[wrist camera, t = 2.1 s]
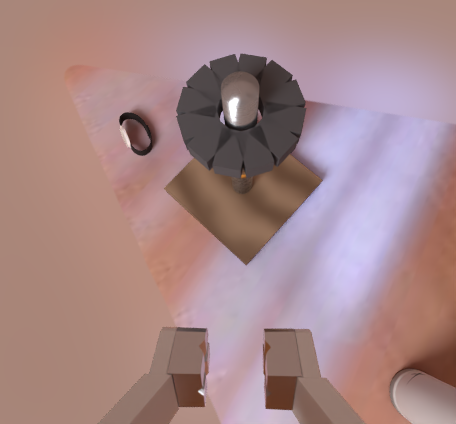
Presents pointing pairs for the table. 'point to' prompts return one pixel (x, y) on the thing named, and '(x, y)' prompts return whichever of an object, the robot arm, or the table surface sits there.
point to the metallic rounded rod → (240, 112)
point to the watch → (125, 136)
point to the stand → (243, 203)
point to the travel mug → (423, 398)
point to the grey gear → (248, 139)
